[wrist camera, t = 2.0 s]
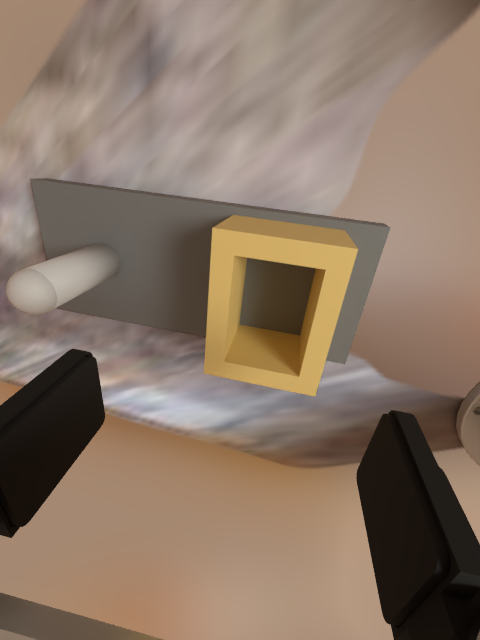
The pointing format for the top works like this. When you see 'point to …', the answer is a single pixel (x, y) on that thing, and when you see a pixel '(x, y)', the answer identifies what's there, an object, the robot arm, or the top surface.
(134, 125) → the top surface
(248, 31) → the top surface
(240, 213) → the keeper board
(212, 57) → the top surface
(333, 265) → the tan hollow block
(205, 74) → the top surface
